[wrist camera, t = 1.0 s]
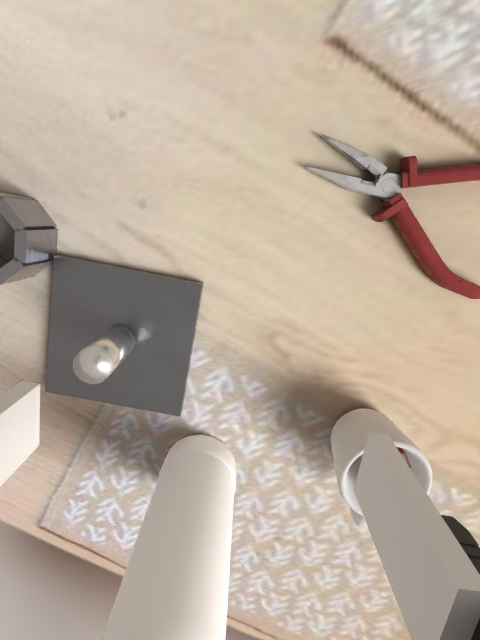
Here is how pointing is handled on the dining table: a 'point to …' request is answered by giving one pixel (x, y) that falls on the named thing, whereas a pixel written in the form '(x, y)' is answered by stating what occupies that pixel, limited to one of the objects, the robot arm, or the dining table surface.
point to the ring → (27, 237)
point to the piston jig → (121, 335)
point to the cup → (350, 449)
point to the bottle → (181, 550)
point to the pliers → (406, 205)
